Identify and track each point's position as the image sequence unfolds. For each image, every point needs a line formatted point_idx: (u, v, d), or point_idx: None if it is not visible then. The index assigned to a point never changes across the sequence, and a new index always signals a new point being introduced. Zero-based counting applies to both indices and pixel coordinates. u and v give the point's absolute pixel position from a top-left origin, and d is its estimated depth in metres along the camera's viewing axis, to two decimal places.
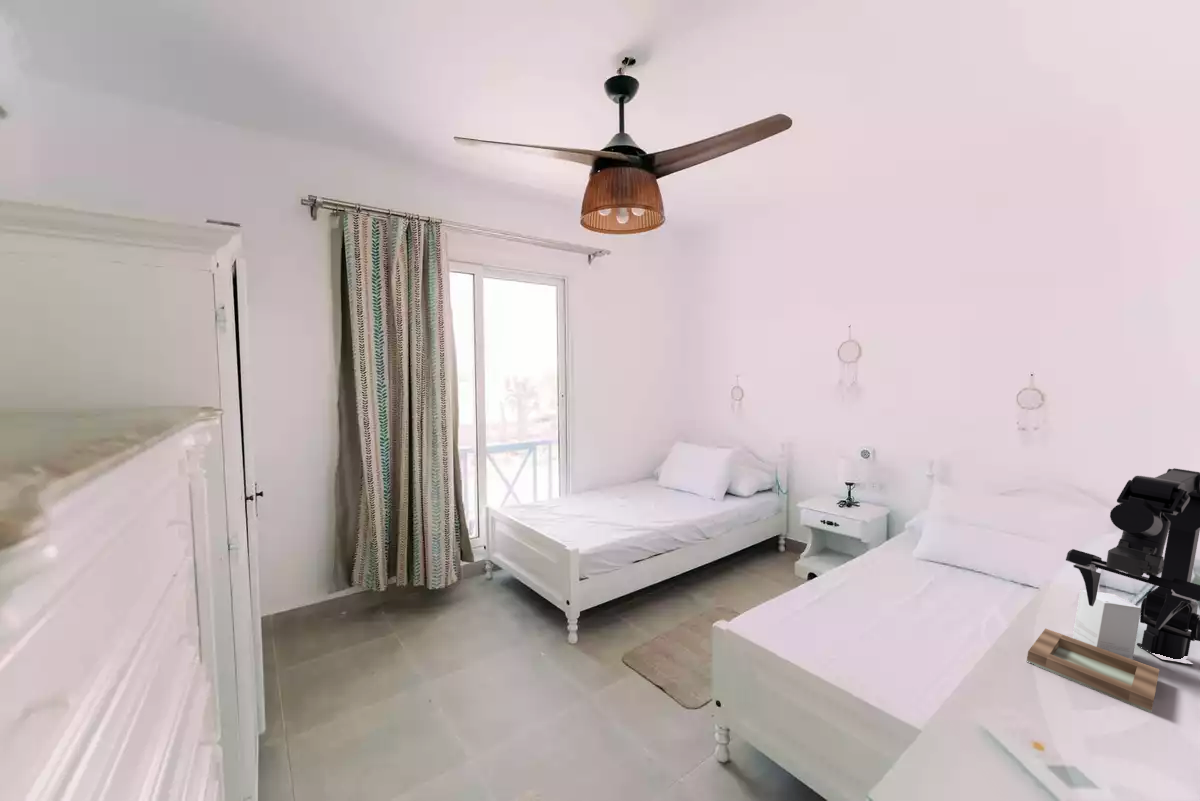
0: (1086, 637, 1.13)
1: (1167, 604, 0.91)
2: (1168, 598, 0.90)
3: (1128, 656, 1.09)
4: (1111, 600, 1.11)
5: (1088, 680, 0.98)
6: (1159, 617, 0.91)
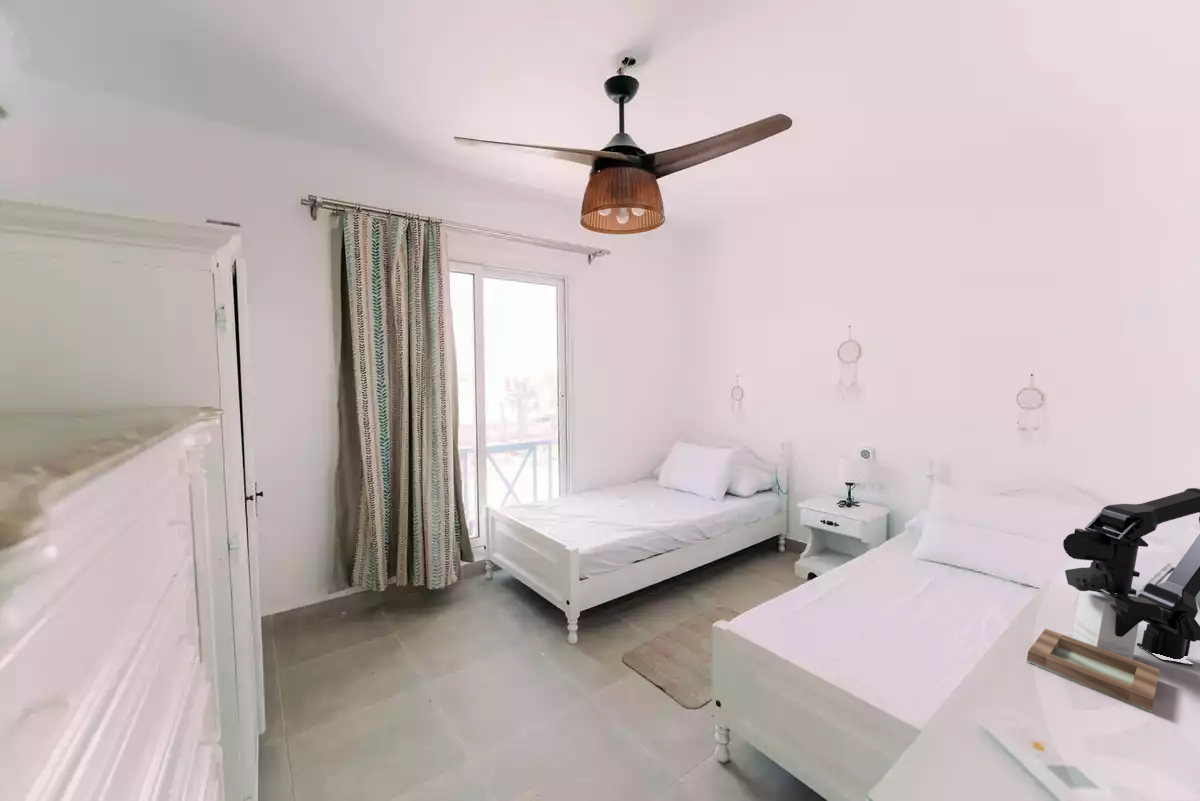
0: (1086, 637, 1.13)
1: (1117, 615, 1.08)
2: (1114, 609, 1.08)
3: (1128, 656, 1.09)
4: (1111, 600, 1.11)
5: (1088, 680, 0.98)
6: (1115, 626, 1.09)
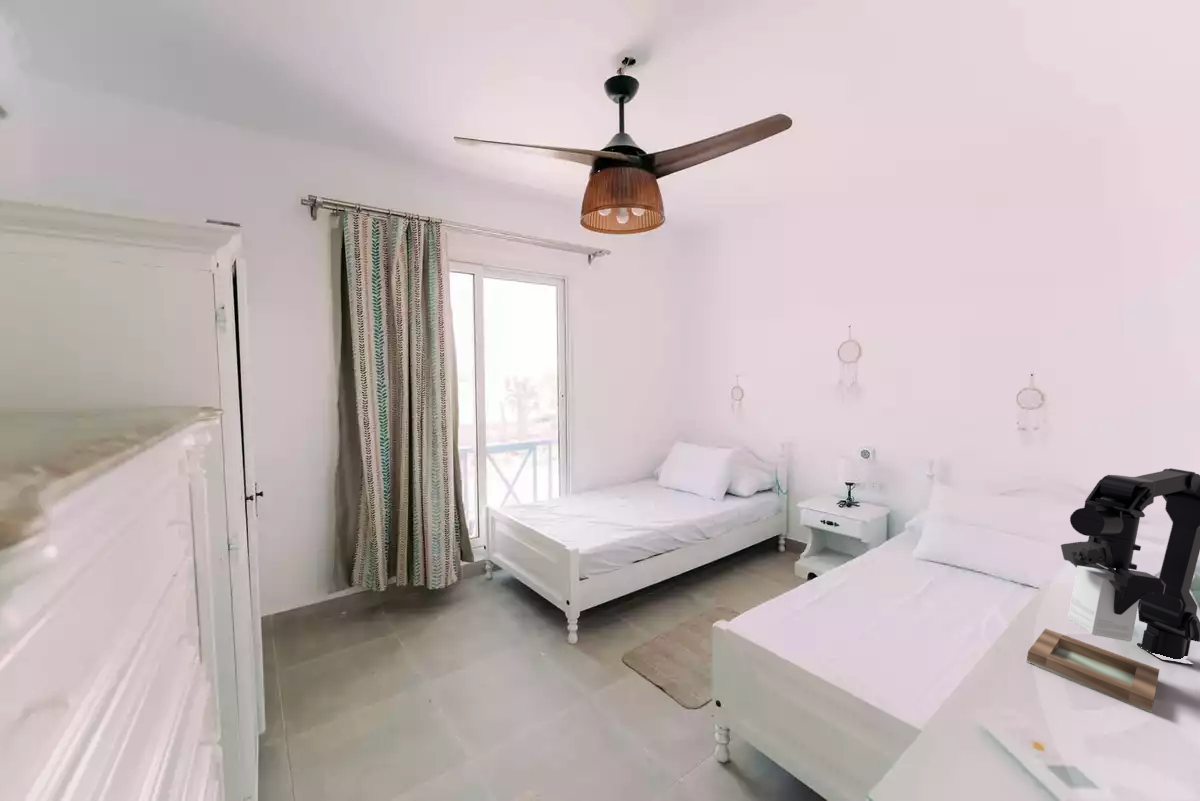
0: (1082, 616, 1.06)
1: (1116, 591, 1.01)
2: (1112, 585, 1.01)
3: (1127, 635, 1.02)
4: (1109, 576, 1.04)
5: (1088, 680, 0.98)
6: (1114, 603, 1.02)
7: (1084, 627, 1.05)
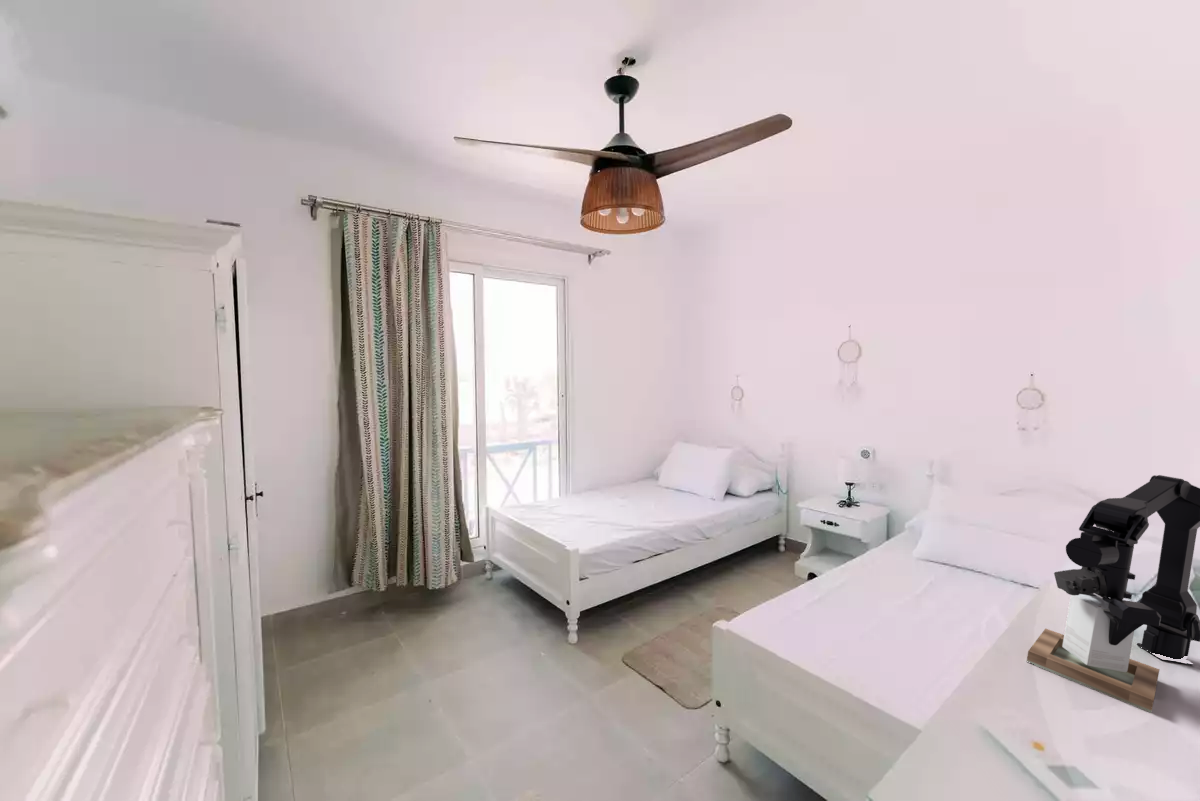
0: (1077, 645, 1.04)
1: (1111, 621, 0.99)
2: (1107, 615, 0.99)
3: (1123, 666, 1.00)
4: (1104, 605, 1.01)
5: (1088, 680, 0.98)
6: (1109, 633, 1.00)
7: (1079, 657, 1.03)
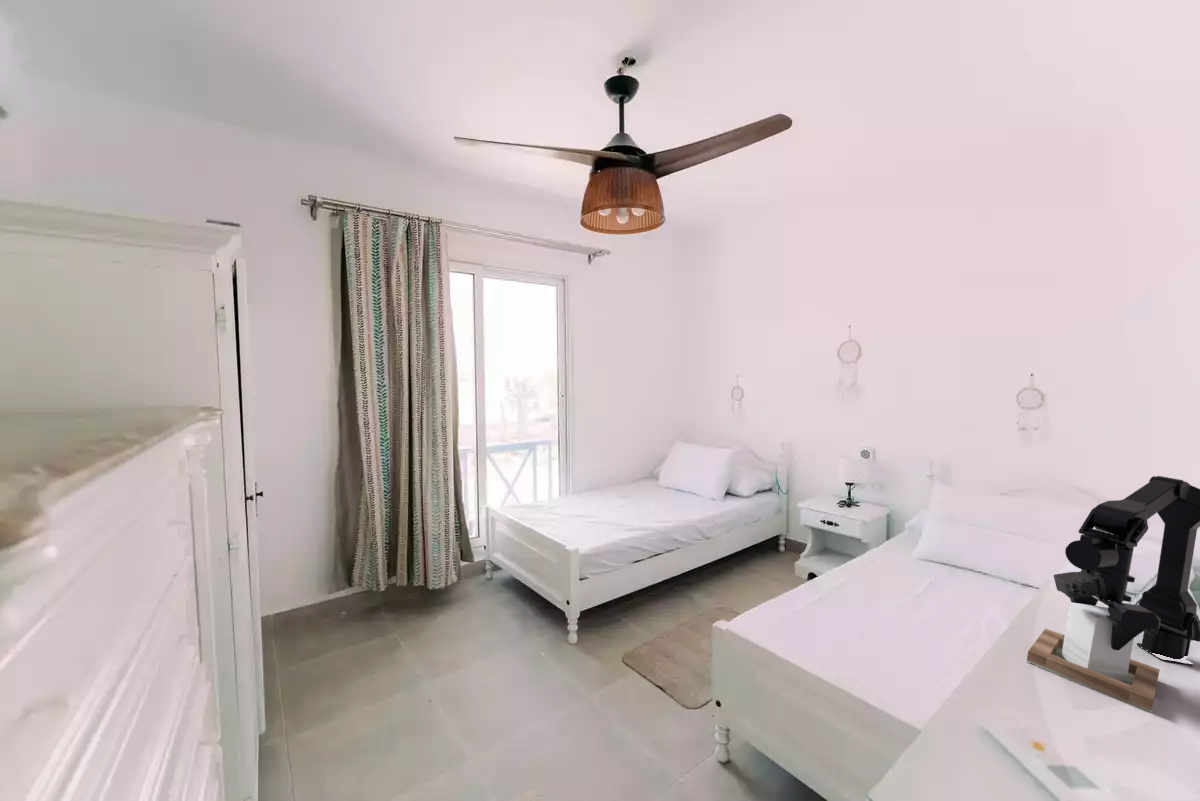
0: (1076, 655, 1.04)
1: (1113, 626, 0.98)
2: (1110, 620, 0.98)
3: (1122, 676, 1.00)
4: (1103, 615, 1.01)
5: (1088, 680, 0.98)
6: (1111, 638, 0.99)
7: None
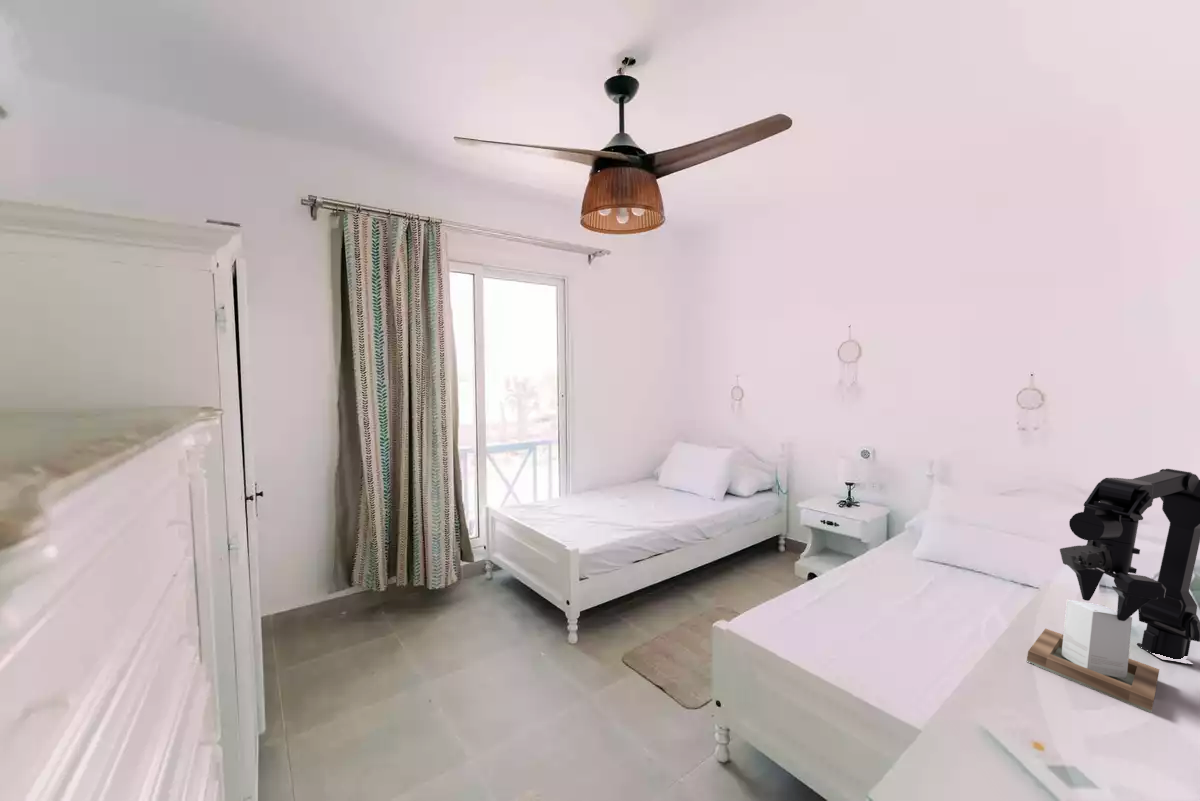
0: (1076, 652, 1.04)
1: (1119, 597, 0.99)
2: (1116, 591, 0.99)
3: (1122, 672, 1.00)
4: (1099, 609, 1.03)
5: (1088, 680, 0.98)
6: (1117, 609, 1.00)
7: (1078, 664, 1.03)
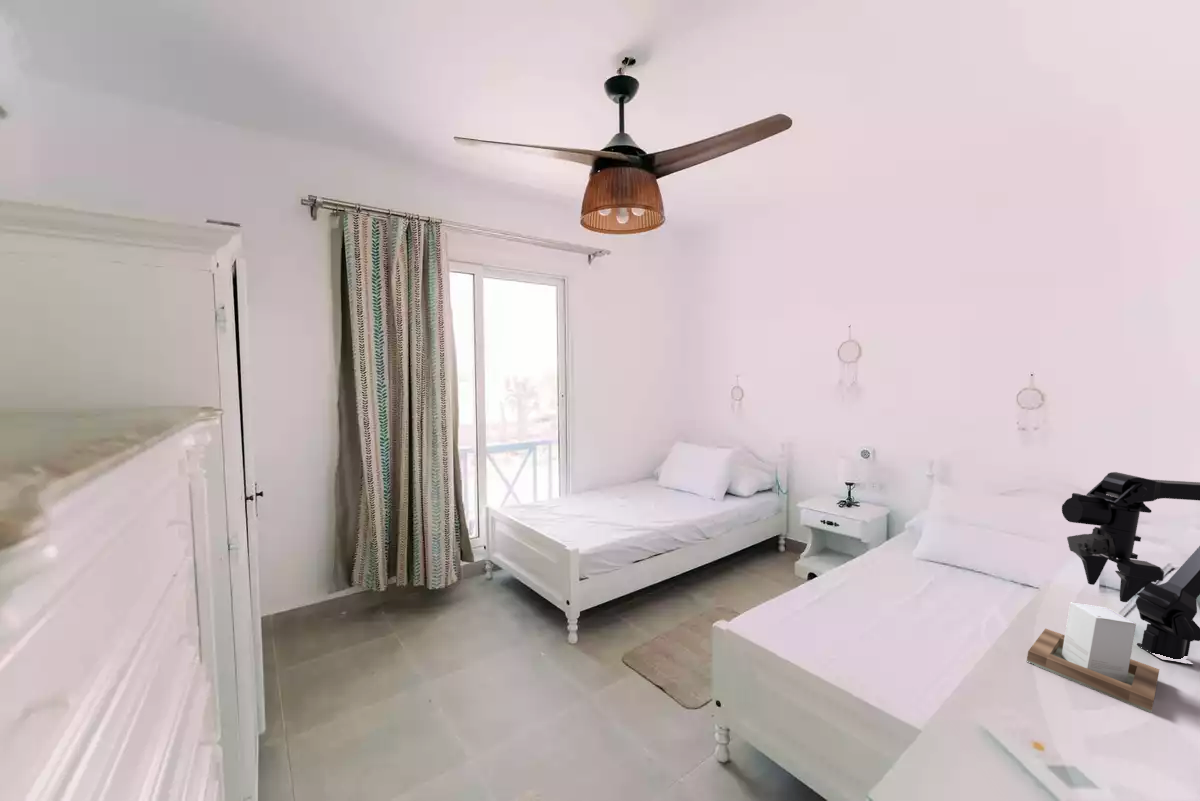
0: (1076, 655, 1.04)
1: (1122, 580, 1.09)
2: None
3: (1122, 676, 1.00)
4: (1103, 615, 1.01)
5: (1088, 680, 0.98)
6: (1120, 591, 1.10)
7: None
